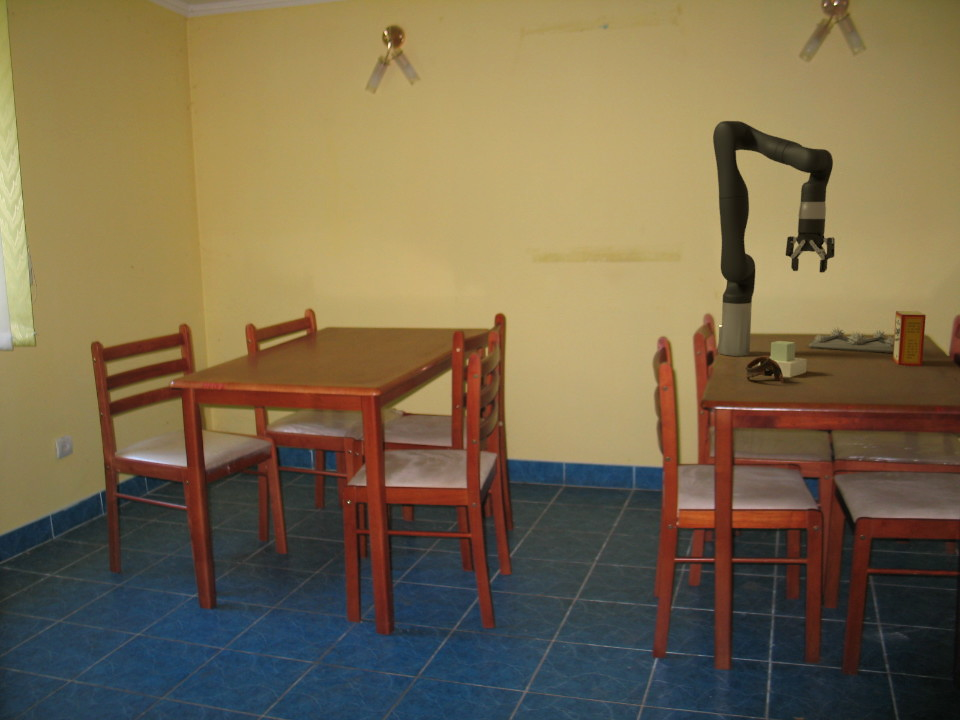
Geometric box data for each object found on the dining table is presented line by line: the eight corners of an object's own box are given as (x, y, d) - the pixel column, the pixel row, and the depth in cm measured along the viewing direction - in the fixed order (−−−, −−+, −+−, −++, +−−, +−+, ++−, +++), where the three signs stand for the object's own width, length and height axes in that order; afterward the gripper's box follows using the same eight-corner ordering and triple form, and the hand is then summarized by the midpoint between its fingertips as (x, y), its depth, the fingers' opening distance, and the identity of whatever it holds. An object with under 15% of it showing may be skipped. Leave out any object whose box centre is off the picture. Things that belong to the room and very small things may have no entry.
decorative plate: (909, 346, 311) (910, 326, 309) (903, 356, 292) (905, 334, 291) (818, 341, 325) (819, 321, 324) (807, 349, 307) (808, 329, 306)
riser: (757, 373, 264) (758, 359, 263) (774, 368, 271) (774, 355, 270) (790, 377, 257) (790, 363, 256) (805, 372, 264) (806, 359, 263)
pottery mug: (785, 387, 246) (772, 362, 244) (753, 399, 250) (739, 374, 249) (787, 369, 256) (774, 344, 254) (756, 380, 261) (743, 357, 259)
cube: (778, 357, 266) (779, 340, 266) (794, 359, 263) (795, 342, 262) (770, 359, 263) (771, 342, 262) (786, 361, 259) (787, 344, 259)
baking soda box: (892, 360, 282) (896, 309, 279) (915, 360, 280) (918, 310, 278) (898, 365, 273) (902, 313, 270) (921, 366, 271) (925, 313, 269)
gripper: (840, 217, 265) (837, 272, 268) (795, 216, 275) (792, 269, 278) (829, 217, 260) (825, 273, 263) (783, 217, 270) (780, 271, 273)
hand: (808, 271), depth 270 cm, fingers open, 8 cm apart
